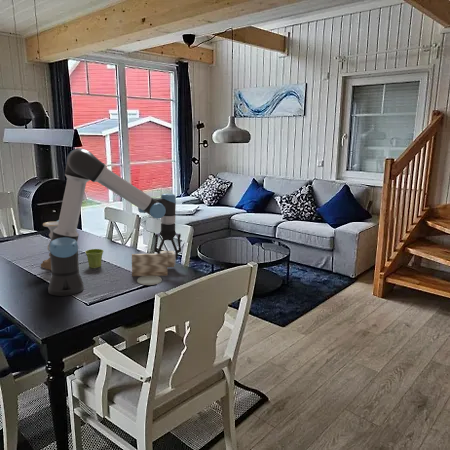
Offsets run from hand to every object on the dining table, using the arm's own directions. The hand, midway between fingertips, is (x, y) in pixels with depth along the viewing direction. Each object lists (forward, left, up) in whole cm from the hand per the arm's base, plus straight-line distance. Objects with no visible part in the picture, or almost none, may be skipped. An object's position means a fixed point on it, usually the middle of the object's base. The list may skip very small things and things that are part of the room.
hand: (167, 264), depth 215 cm
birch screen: (-12, +3, -3) cm, 12 cm away
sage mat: (-19, -2, -3) cm, 19 cm away
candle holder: (-26, +54, -3) cm, 60 cm away
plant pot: (-16, +36, -3) cm, 40 cm away
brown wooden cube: (0, 0, 0) cm, 0 cm away
